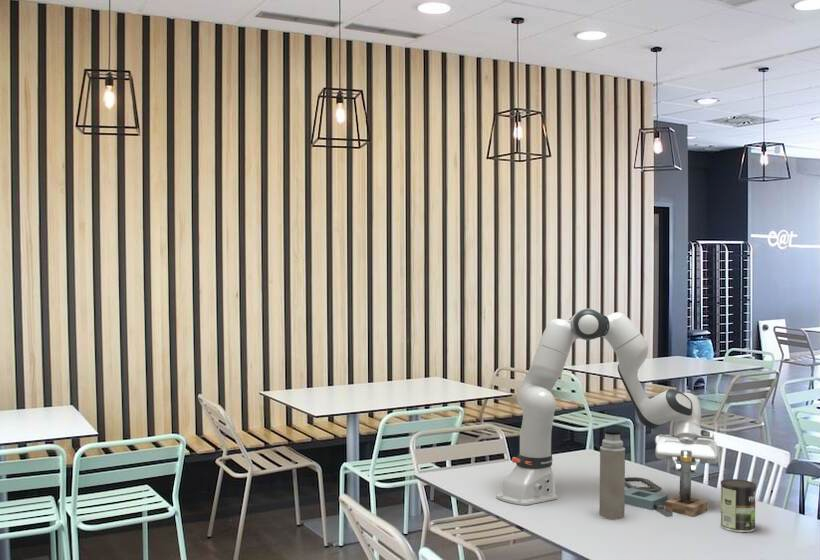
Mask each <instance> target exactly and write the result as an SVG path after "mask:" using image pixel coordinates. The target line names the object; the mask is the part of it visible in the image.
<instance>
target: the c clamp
mask: <svg viewBox="0 0 820 560" xmlns="http://www.w3.org/2000/svg"><path fill="white" fill-rule="evenodd" d="M639 481H642V482H641V483H643V482H644V483H645V484H644V483H643V484H644V485H646V484H647V485H648V486H647V485H646V486H640V487H639V486H638V487H637V486H635V485H632V484H631V483H629V482H639ZM649 486H650V487H649ZM625 487H626V488H628V489H629V488H636V489H640V490H645V491H649V492H654V493H657V491H659V492H661V491H662V487H660V486H659V485H658V484H656V483H654V482H653V481H652V480H649V479H648V478H643V477H637V476H636V477H635V476H634V477H633V476H632V477H629V476H628V477H625ZM660 490H661V491H660Z"/></svg>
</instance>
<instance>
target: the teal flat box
mask: <svg viewBox="0 0 820 560" xmlns="http://www.w3.org/2000/svg"><path fill="white" fill-rule="evenodd" d="M668 498H669V497H668V495H667V494H662V493H659V492H658V493H657V492H649V491H645V490H640V489H636V488H629V487H628V488H626V489H625V505H629V506H633V507H638V508H641V507H642V508H641V509H645V508H646V509H647V510H650V511H655V510H654V504H661V505H663V506H664V507H665V501H667V500H668Z"/></svg>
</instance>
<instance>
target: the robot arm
mask: <svg viewBox="0 0 820 560" xmlns="http://www.w3.org/2000/svg"><path fill="white" fill-rule="evenodd" d="M598 338H604V339H605V340H606V341H607V343H609V345H610V346H611V348H612V349H613V351H614V353H615V356H616V358H617V362H618V364H617V372H618V374H619V377H620V379H621V381H622V383H623V386H624V388H625V390H626V392H627V394H628V395H629V398H630V400H631V403H632V404H633V407H634V410H635V414H636V416H637V419H638V421H639V422H640V423H641V424H642V425H643V426H644V427H646V428H648V429H652V430H654V429H657V428H659V427H661V426H663V425H664V424H666V423H669V422H671V421H673V422H674V426H673V434H666V433H665V434H664V433H660V434H658V435H655V439H654V443H655V453H654V454H655V456H654V457H656V458H657V460H665V461H672V464H673V465H674V467H675V472H680V463H678V462H680V455H681V450H690V451H692V463H694V465H692V467H691V474H692V473H693V474H696V473H697V469H698V467H699V466H700V464H708V465H709V464H710V465H716V464H717V463H718V461H719V451H718V446H717V443H716V441H715V434H714V433H713V432H712V431H709V430H706V429H704V428H701V425H700V424H701V422H702V407H701V402H700V400H699V398H698V397H697V395H695V394H693V393H690V392H681V391H679V390H678V389H674V388H670V389H667V390H665V391H663V392H660V393H659V394H657V395H655V396H653V397H651V398H649V397H648V396H647V395H646V393H645V390H644V388H643V386H642V384H641V382H640V379H639V376H638V373H639V369H640V368H641V366H643V363H644V362H645V361H646V360H647V357H648V353H649V346H648V343H647V340H646V339H645V337H644V336H643V334H642V333H641V332H640V330H639V329H638V328H637V326H636V325H635V324H634V323H633V321H631V319H630V318H629V317H628V316H627V315H626V314H625V313H624V312H619V311H617V312H616V311H615V312H613V313H610V314H608V315H605V314H602V313H601V312H598V311H597V310H595V309H592V308H583V309H580V310H578V311H577V312H576V313H574V315H573V316H571V317H570V318H569V319H567V320H566V319H563V318H554V319H551V320H550V321H548V323H547V325H546V327H545V328H544V331H543V332H542V335H541V337H540V339H539V342H538V345H537V348H536V351H535V354H534V356H533V359H532V363H531V365H530V367H529V369H528V371H527V373H526V374H525V376H524V378H523V381H522V383H521V385H520V387H518V390H517V391H516V402H517V404H518V406H519V408H520V409H521V410H522V412H523V413H522V422H521V427H520V431H519V453H518V455H517V457H516V456H513V457H512V458H511V462H512V463H514V464H516V465H515V467H514V468H513V470H512V471H510V473H509V475H507V476H506V478H505V479H504V481H503V486H502V491H500V492H499V493H497V494H496V495H495V498H496V499H497V500H500V501H503V502H505V503H509V504H515V505H521V506H530V505H533V504H538V503H544V502H549V501H553V500H558V495H557V494H556V488H555V487H556V486H555V476H554V475H555V474H554V473H553V470H552V466H553V455H552V430H553V423H554V419H555V418H554V417H555V412H556V410H557V409H556V408H557V402H556V398H555V397H554V395H553V393H552V391H553V389H554V386H555V385H556V383H557V381H558V380H559V379H560V378H561V376H562V374H563V371H564V368H565V366H566V362H567V360H568V356H569V354H570V350H571V348H572V346H573V343H574V342H575V341H576V340H578V339H580V340H584V341H591V340H595V339H598Z"/></svg>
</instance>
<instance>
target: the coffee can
mask: <svg viewBox="0 0 820 560" xmlns="http://www.w3.org/2000/svg"><path fill="white" fill-rule="evenodd" d="M756 487H757V485H756V483H755V482H752V481H750V480H744V479H736V478H727V479H723V480H720V528H722V529H723V528H724V529H723V530H726V531H729V530H730V532H733V531H734V533H741V532H747V533H752V532H751V531H753V532H755V531H756ZM754 530H755V531H754Z"/></svg>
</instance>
